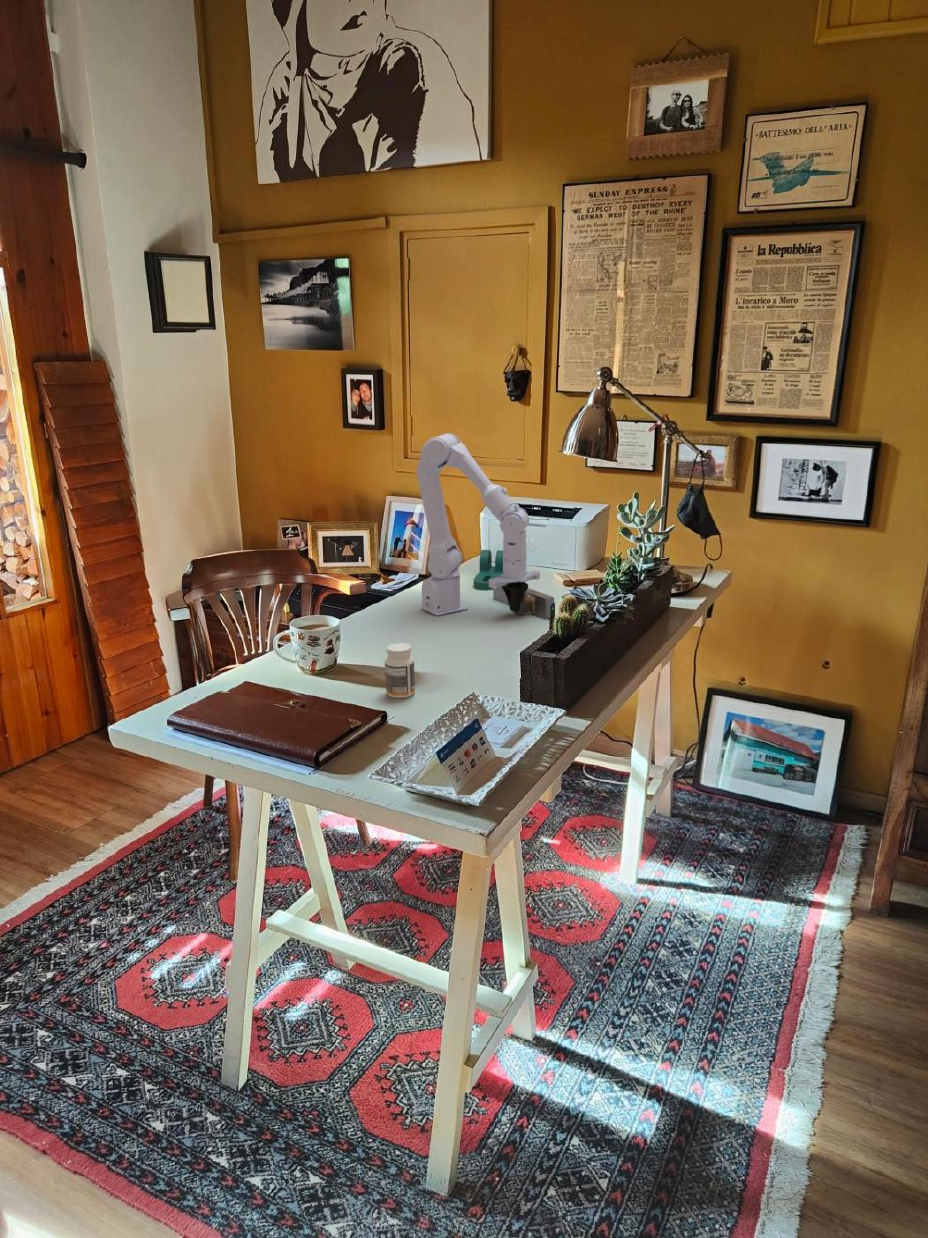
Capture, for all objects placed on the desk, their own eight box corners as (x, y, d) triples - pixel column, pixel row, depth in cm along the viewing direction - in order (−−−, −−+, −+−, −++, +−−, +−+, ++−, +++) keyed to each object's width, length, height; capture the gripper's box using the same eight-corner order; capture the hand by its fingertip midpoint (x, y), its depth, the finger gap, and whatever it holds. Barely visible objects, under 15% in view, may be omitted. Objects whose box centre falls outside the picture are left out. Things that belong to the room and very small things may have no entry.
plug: (523, 616, 222) (523, 604, 221) (512, 611, 226) (512, 599, 225) (549, 610, 227) (549, 598, 226) (538, 605, 230) (538, 594, 229)
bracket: (484, 573, 262) (484, 547, 260) (506, 574, 261) (506, 548, 258) (471, 590, 246) (470, 562, 243) (495, 591, 244) (495, 563, 242)
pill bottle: (400, 686, 180) (398, 639, 177) (421, 692, 177) (419, 645, 174) (380, 694, 176) (378, 647, 173) (401, 701, 173) (399, 654, 170)
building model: (546, 619, 220) (546, 599, 218) (493, 598, 237) (493, 579, 236) (553, 617, 221) (554, 597, 220) (500, 596, 238) (500, 578, 237)
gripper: (500, 566, 212) (500, 620, 216) (547, 557, 220) (547, 609, 224) (483, 560, 218) (484, 613, 222) (530, 551, 225) (529, 602, 230)
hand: (514, 610), depth 223 cm, fingers closed
